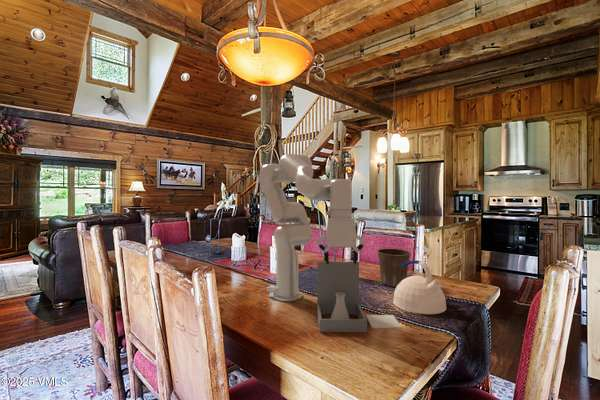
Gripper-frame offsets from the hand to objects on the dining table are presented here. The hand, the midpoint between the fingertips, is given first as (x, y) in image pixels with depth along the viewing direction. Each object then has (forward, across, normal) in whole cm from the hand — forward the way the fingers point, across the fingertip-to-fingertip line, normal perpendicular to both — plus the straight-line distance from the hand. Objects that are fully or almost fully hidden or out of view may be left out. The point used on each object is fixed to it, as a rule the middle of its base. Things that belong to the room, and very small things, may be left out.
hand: (341, 263), depth 109 cm
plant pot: (+21, +32, +46) cm, 60 cm away
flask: (+21, 0, 0) cm, 21 cm away
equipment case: (+21, 0, 0) cm, 21 cm away
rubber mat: (+21, +15, 0) cm, 26 cm away
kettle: (+21, +34, +17) cm, 44 cm away
